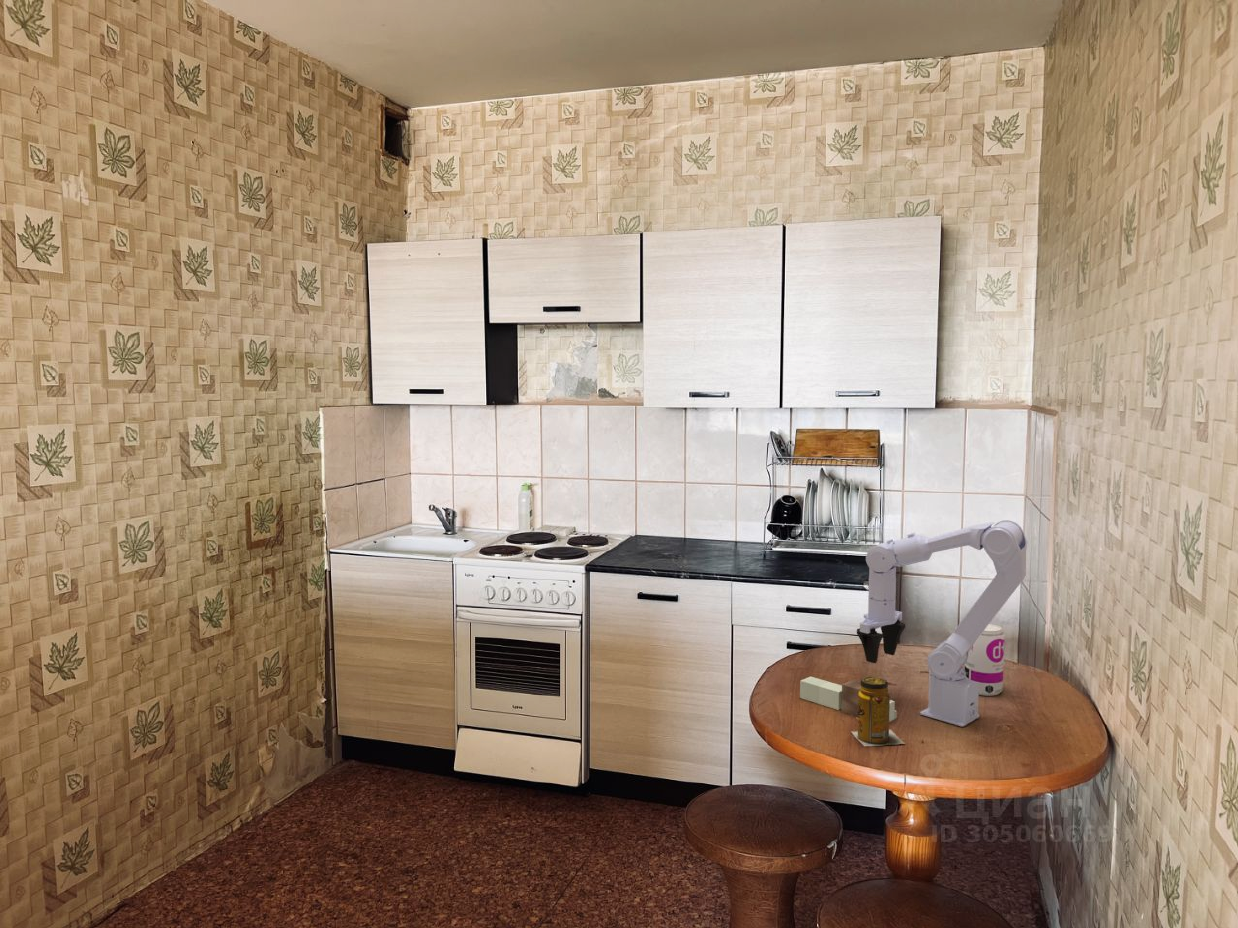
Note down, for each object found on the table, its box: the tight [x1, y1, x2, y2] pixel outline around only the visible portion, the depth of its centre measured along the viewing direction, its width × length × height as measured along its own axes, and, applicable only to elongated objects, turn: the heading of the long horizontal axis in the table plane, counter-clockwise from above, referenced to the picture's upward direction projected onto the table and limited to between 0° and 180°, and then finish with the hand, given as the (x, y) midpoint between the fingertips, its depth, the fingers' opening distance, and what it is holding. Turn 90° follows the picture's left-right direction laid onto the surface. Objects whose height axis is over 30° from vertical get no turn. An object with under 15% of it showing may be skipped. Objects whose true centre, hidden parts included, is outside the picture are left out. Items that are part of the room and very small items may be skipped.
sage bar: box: [799, 675, 898, 723], centre depth 188 cm, size 21×5×4 cm, turn 43°
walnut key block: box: [841, 679, 861, 717], centre depth 186 cm, size 4×4×6 cm
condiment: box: [850, 676, 906, 747], centre depth 171 cm, size 7×8×12 cm
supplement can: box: [964, 622, 1006, 697], centre depth 197 cm, size 8×8×15 cm
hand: (880, 657), depth 190 cm, fingers open, 7 cm apart
